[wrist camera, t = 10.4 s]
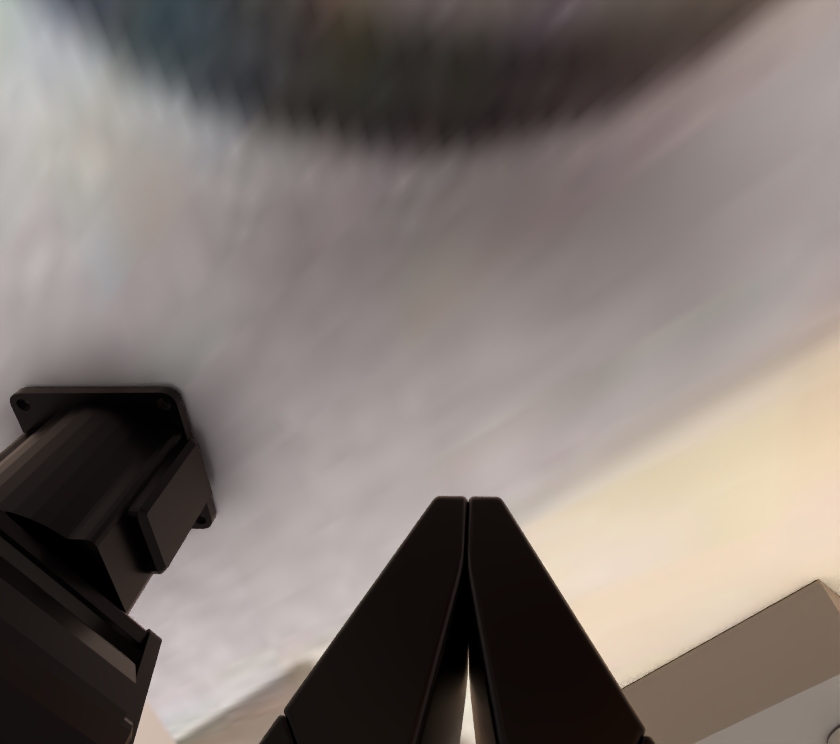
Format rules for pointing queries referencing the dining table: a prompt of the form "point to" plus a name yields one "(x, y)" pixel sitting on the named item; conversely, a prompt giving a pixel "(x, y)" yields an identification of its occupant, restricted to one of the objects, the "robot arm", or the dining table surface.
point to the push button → (835, 737)
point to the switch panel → (752, 680)
